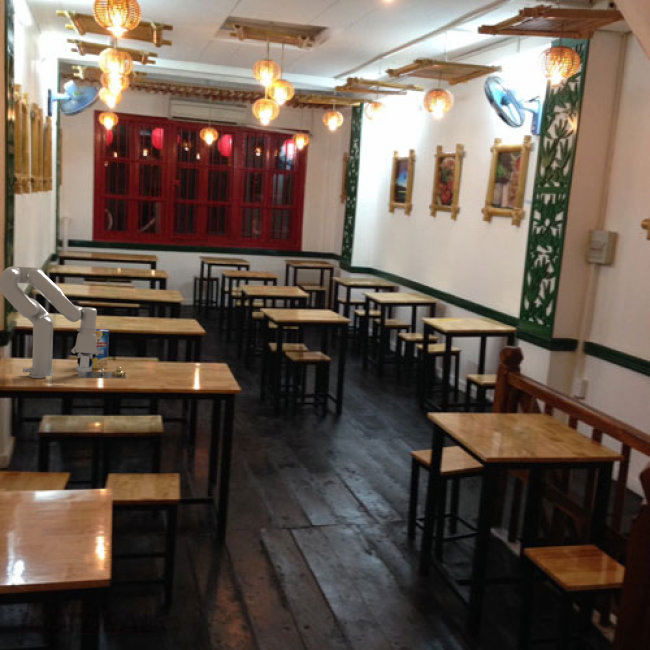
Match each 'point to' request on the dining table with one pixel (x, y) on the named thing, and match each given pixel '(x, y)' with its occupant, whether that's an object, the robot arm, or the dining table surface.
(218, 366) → the dining table surface
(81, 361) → the square hollow tube
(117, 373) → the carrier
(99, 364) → the beverage box
